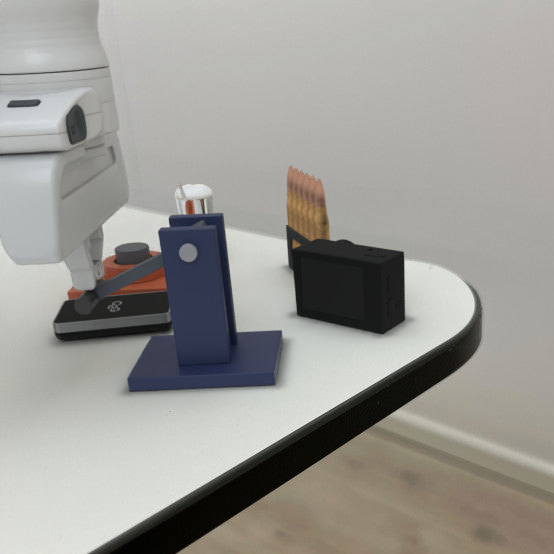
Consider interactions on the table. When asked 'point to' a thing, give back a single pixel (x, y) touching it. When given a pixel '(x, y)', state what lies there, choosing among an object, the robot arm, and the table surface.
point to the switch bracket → (203, 318)
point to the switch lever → (119, 281)
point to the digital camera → (350, 284)
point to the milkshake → (194, 199)
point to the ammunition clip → (305, 211)
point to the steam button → (132, 253)
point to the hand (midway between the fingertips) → (90, 284)
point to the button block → (142, 285)
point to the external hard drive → (115, 316)
